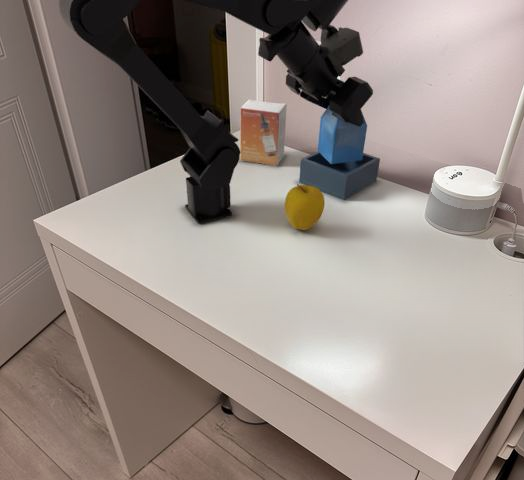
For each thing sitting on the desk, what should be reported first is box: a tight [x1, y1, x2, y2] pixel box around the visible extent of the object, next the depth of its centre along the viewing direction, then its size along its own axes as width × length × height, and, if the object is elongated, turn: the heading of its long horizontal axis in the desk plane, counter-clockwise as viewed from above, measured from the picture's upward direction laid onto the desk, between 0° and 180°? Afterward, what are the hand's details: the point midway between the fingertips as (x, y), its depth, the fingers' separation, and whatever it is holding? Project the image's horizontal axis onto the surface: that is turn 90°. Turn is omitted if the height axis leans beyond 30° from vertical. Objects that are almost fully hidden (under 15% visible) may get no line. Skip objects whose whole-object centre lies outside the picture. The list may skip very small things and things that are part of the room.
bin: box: [298, 150, 381, 201], centre depth 101 cm, size 11×11×5 cm
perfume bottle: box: [317, 107, 368, 164], centre depth 95 cm, size 6×6×12 cm
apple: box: [284, 183, 326, 231], centre depth 87 cm, size 6×6×8 cm
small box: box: [239, 99, 288, 167], centre depth 107 cm, size 8×6×10 cm
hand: (350, 118), depth 95 cm, fingers closed on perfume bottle, 6 cm apart
